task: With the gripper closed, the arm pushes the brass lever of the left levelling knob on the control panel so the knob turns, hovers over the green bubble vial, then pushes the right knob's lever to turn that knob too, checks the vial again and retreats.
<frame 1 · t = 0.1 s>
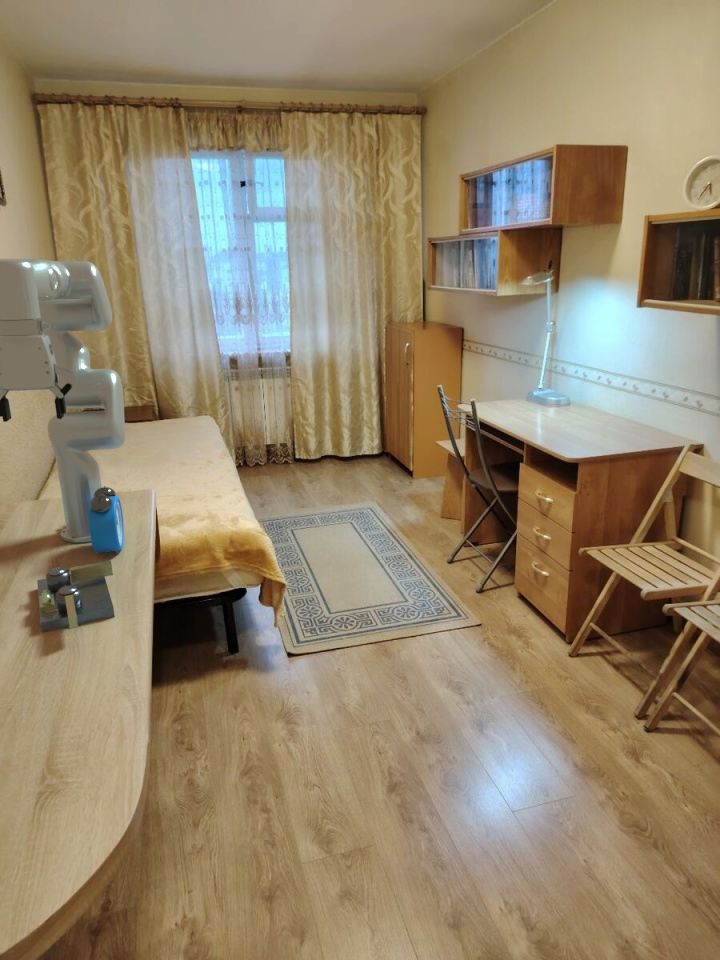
hand: (34, 418, 130), 37 cm above the table, tool pointing down, fingers open, 9 cm apart
alarm clock: (109, 550, 162), on the table
knob left: (79, 574, 140), point 4 cm above the table, hinge at 0.0°
knob right: (70, 606, 127), point 4 cm above the table, hinge at 0.0°
control panel: (75, 602, 137), on the table
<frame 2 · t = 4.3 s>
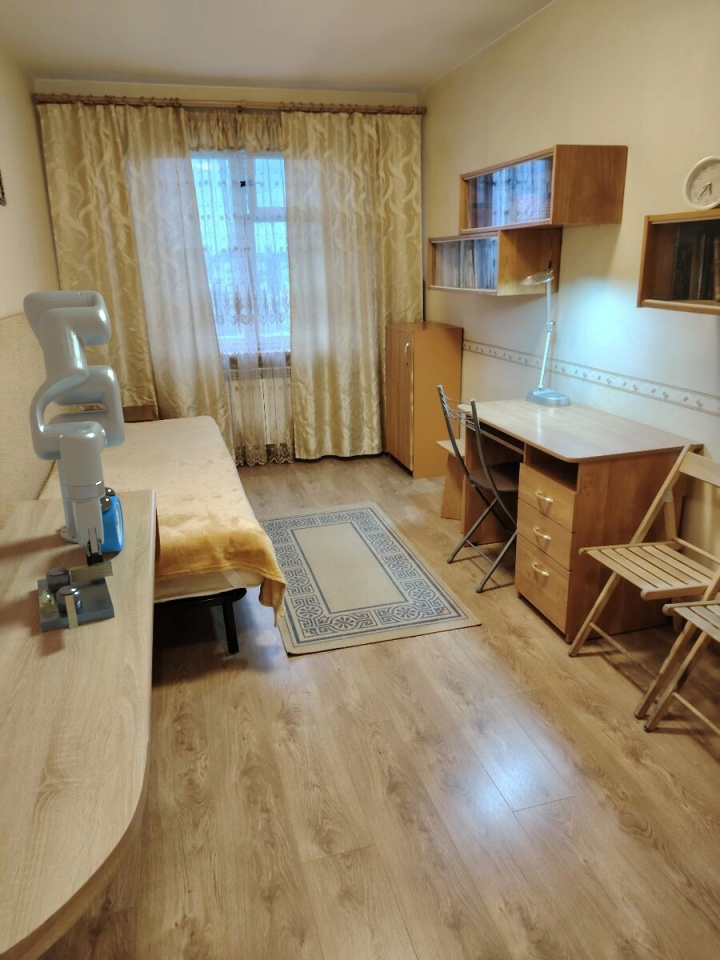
hand: (96, 570, 144), 3 cm above the table, tool pointing down, fingers closed
knob left: (79, 574, 140), point 4 cm above the table, hinge at -1.3°, touching gripper
everything else where it was.
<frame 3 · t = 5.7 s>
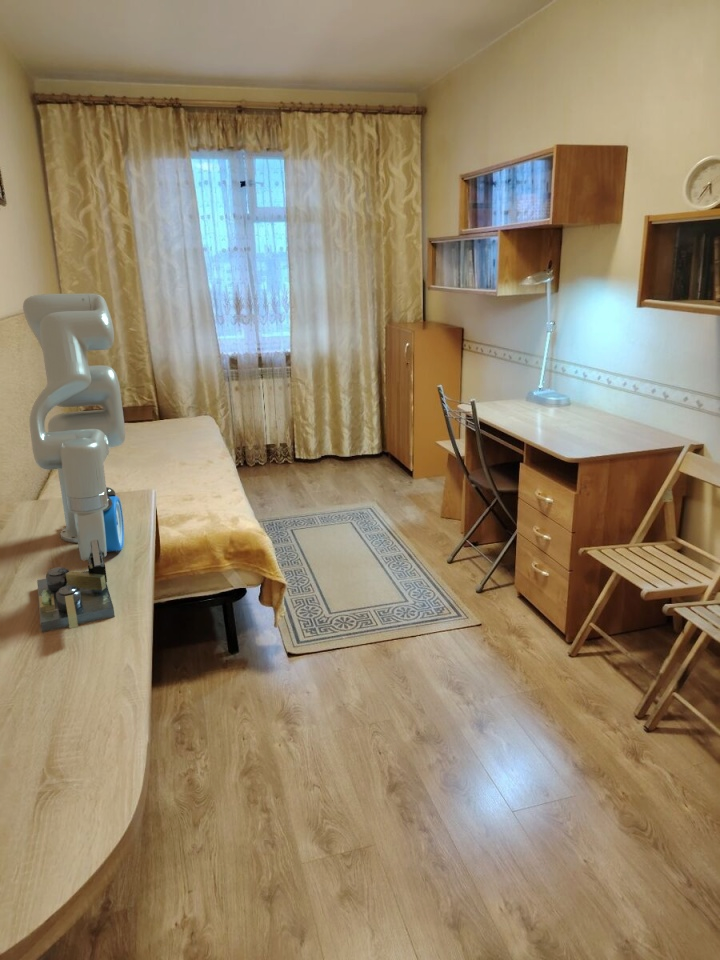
hand: (98, 582, 140), 3 cm above the table, tool pointing down, fingers closed
knob left: (75, 580, 137), point 4 cm above the table, hinge at -39.7°, touching gripper
everything else where it was.
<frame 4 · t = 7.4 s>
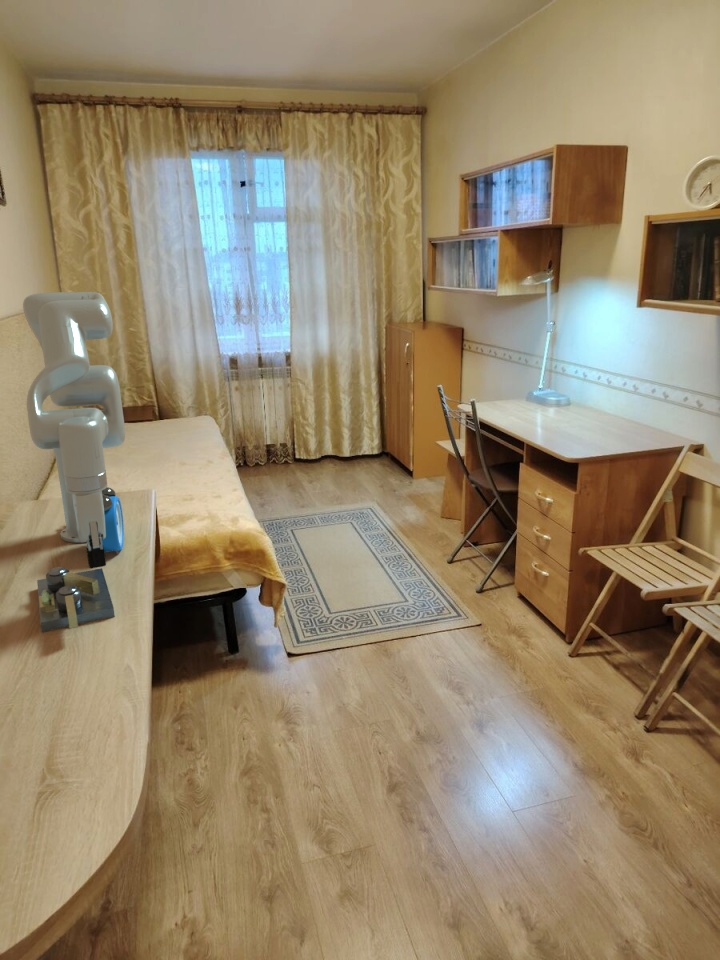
hand: (97, 565, 136), 7 cm above the table, tool pointing down, fingers closed
knob left: (72, 582, 136), point 4 cm above the table, hinge at -52.0°
everything else where it was.
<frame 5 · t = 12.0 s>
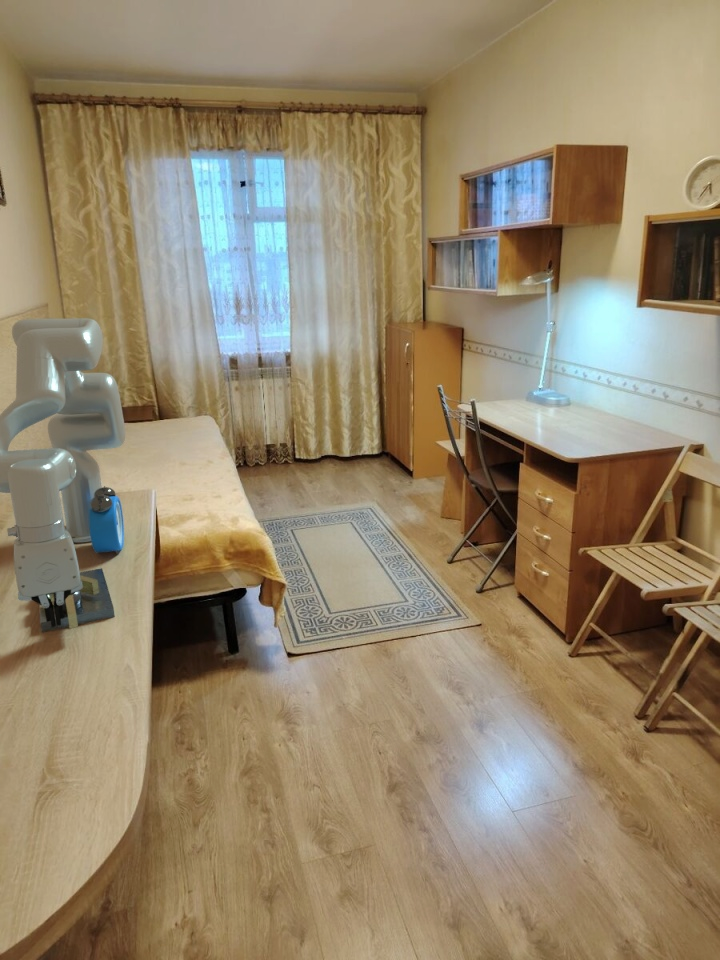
hand: (56, 622, 123), 3 cm above the table, tool pointing down, fingers closed
knob right: (70, 606, 127), point 4 cm above the table, hinge at 0.0°, touching gripper
everything else where it was.
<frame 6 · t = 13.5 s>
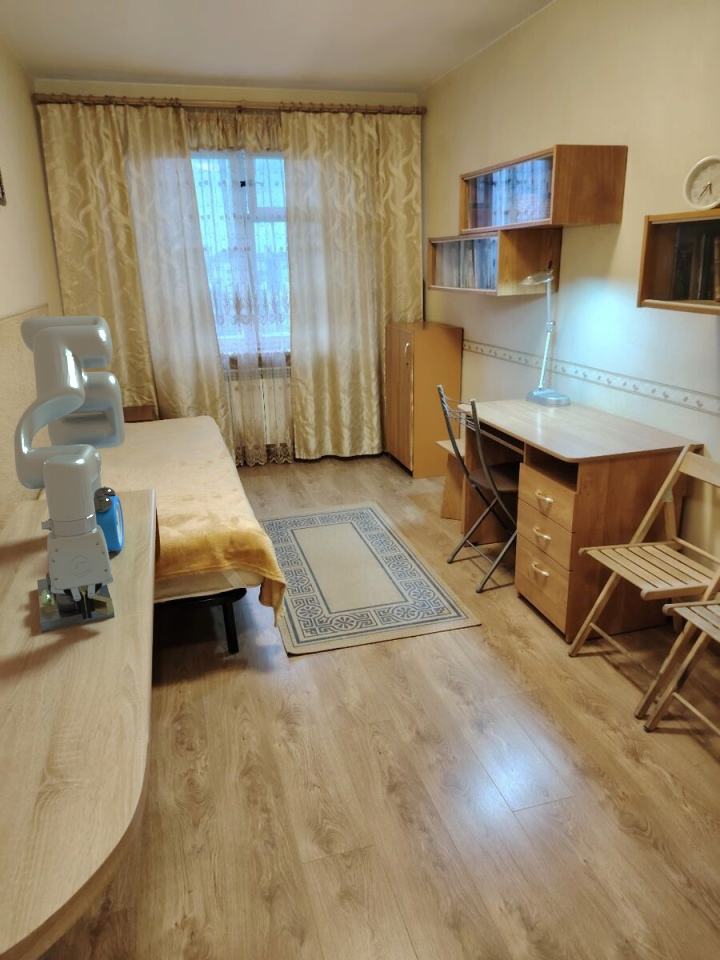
hand: (87, 615, 125), 3 cm above the table, tool pointing down, fingers closed
knob right: (84, 601, 129), point 4 cm above the table, hinge at 39.3°, touching gripper
everything else where it was.
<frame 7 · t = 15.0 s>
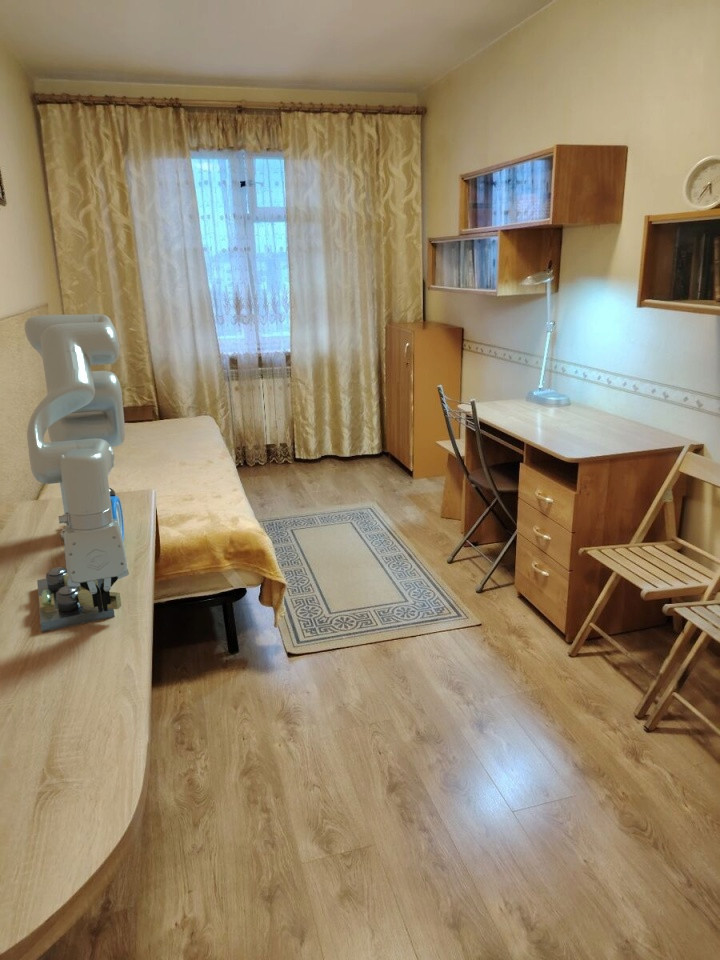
hand: (102, 608, 126), 4 cm above the table, tool pointing down, fingers closed
knob right: (88, 599, 129), point 4 cm above the table, hinge at 53.3°, touching gripper
everything else where it was.
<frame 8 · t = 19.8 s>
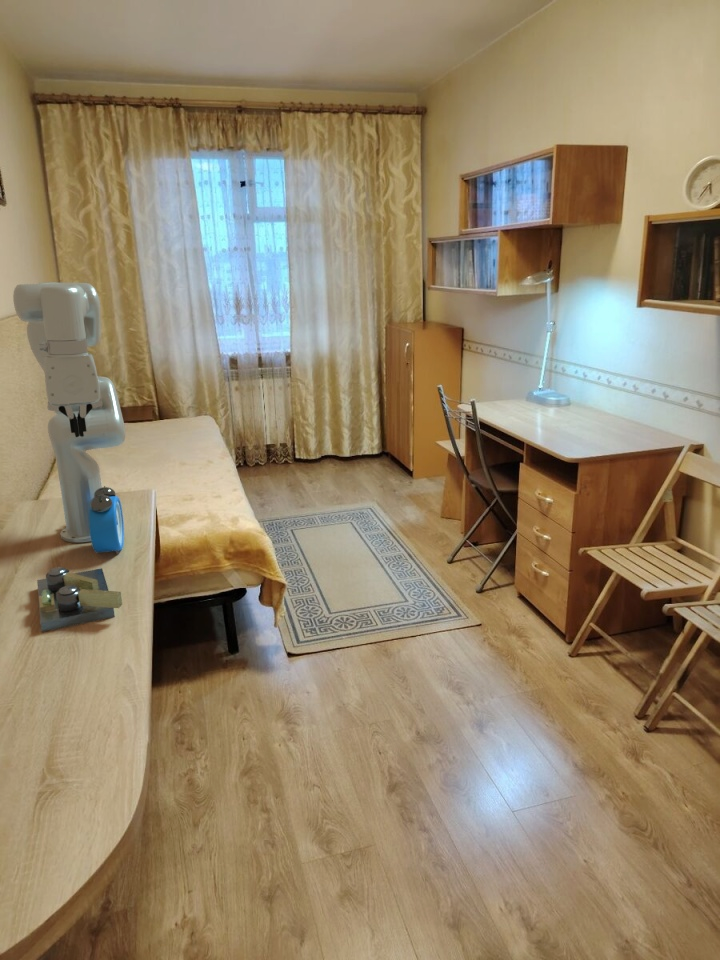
hand: (79, 435, 143), 31 cm above the table, tool pointing down, fingers closed
knob right: (89, 598, 130), point 4 cm above the table, hinge at 55.6°
everything else where it was.
at the end: knob left at -52° (first picture: +0°); knob right at +56° (first picture: +0°) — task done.
